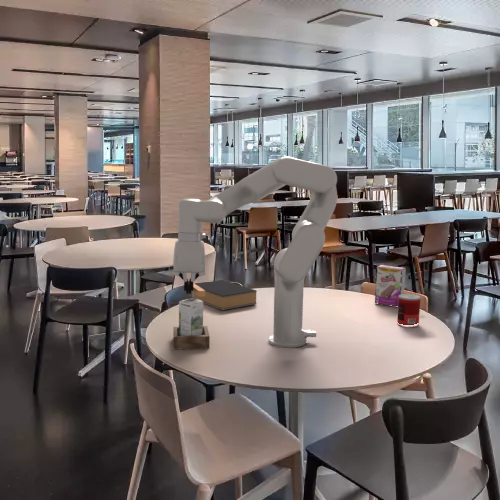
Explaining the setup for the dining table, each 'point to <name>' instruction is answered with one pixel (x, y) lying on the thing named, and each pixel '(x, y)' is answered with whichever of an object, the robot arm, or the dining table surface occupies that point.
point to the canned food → (408, 309)
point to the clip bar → (198, 290)
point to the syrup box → (190, 317)
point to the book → (226, 295)
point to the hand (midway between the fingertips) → (188, 292)
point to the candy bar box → (389, 284)
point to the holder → (191, 337)
